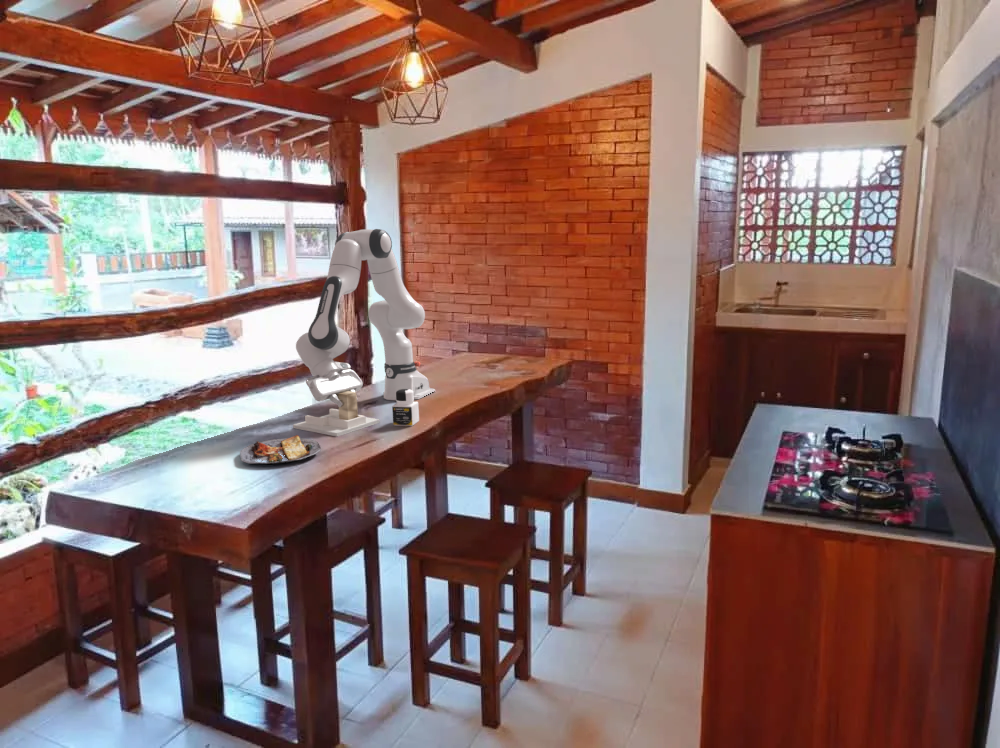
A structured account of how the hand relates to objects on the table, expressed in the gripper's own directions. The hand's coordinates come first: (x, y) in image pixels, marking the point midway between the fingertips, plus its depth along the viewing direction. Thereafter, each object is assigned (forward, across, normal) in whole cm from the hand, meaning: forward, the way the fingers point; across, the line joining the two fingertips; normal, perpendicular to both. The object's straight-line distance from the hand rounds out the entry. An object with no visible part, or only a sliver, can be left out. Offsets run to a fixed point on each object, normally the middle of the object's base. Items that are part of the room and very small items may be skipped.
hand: (348, 403), depth 252 cm
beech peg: (+5, 0, +6) cm, 7 cm away
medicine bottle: (+15, +14, -3) cm, 21 cm away
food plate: (+9, -33, +4) cm, 34 cm away
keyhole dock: (+1, 0, +11) cm, 11 cm away
